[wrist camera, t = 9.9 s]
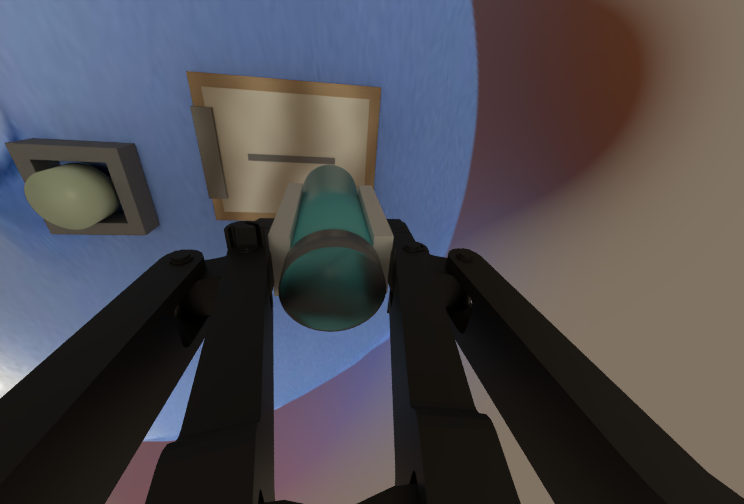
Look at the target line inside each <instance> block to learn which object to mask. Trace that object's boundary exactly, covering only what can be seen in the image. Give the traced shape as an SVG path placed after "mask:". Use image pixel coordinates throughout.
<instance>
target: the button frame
mask: <svg viewBox="0 0 744 504" xmlns="http://www.w3.org/2000/svg"><path fill="white" fill-rule="evenodd" d="M5 145H6V147H7V149H8V151H9V153H10V155H11V157H12V159H13V161H14V162H15V164H16V166H17V168H18V170H19V172H20V174H21V176H22V178H23V180H24V182H26V180H27V179H28V178H29V177H30V176H31V175H32V174H34V173H37V172H40V171H43V170H47V169H50V168H54V167H57V166H60V164H59V162H58V161H80V162H104V163H106V164H107V167H108V170H109V173H110V175H111V178H112V181H113V183H114V186H115V189H116V192H117V194H118V197H119V200H120V203H121V205H122V208H123V211H124V213H113V214H111V215H110V216H108V217H106V218H104V219H103V220H101V221H99V222H97V223H96V224H94V225H92V226H90V227H88V228H85V229H79V230H74V229H66V228H63V227H60V226H57V225H55V224H52V223H50V222H49V221H47V220H45V219H44V218H43V219H44V221H45V223H46V225H47V227H48V229H49V231H50V233H51V234H84V235H147V234H148V233H150V232H151V231H152V230H153V229H155V228H156V227H157V226H158V225H159V222H158V218H157V215H156V212H155V209H154V205H153V202H152V199H151V196H150V192H149V189H148V186H147V183H146V179H145V176H144V173H143V170H142V166H141V163H140V160H139V157H138V153H137V150H136V147H135V144H134V143H114V142H95V141H75V140H56V139H36V138H32V139H26V140H20V141H14V142H8V143H5Z"/></svg>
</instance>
